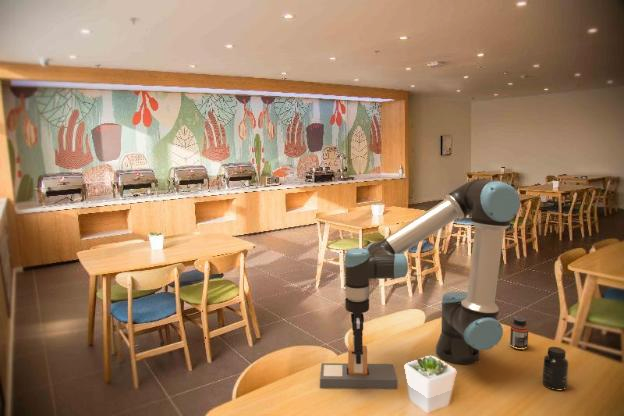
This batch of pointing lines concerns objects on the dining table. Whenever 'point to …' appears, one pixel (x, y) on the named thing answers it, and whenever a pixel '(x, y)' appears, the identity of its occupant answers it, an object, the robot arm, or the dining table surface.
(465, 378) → the dining table surface
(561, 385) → the supplement bottle
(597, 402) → the dining table surface
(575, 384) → the dining table surface
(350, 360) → the plug
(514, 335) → the supplement bottle
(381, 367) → the block
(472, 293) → the robot arm
